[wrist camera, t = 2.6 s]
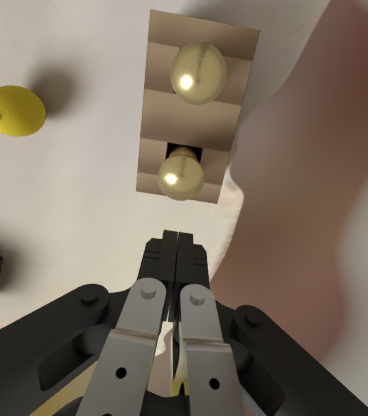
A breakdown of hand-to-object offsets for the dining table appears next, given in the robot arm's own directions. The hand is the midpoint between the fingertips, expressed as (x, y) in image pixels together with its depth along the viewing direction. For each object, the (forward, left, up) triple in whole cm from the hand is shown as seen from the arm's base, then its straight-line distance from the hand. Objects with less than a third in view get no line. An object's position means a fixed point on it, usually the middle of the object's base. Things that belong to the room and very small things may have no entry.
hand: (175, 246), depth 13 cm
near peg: (-8, 0, -19) cm, 21 cm away
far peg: (0, 0, -19) cm, 19 cm away
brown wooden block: (-4, 0, -24) cm, 25 cm away
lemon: (-1, -20, -25) cm, 32 cm away
